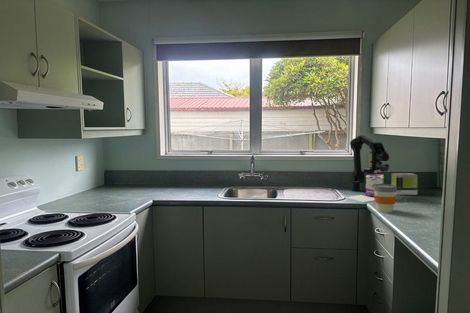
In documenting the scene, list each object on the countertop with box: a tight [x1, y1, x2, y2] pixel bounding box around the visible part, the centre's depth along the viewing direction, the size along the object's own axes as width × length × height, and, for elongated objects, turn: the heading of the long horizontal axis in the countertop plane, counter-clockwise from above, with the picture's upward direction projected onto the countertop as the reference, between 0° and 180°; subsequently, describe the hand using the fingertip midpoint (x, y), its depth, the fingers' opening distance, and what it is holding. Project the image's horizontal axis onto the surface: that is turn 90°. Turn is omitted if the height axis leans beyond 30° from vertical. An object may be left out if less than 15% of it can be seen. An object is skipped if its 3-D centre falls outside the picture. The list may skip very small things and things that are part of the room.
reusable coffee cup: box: [373, 183, 397, 214], centre depth 196 cm, size 13×13×15 cm
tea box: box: [390, 172, 419, 196], centre depth 244 cm, size 15×10×15 cm
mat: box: [344, 194, 375, 203], centre depth 228 cm, size 16×16×1 cm
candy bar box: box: [365, 173, 385, 198], centre depth 230 cm, size 11×5×16 cm, turn 62°
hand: (375, 182), depth 233 cm, fingers closed
